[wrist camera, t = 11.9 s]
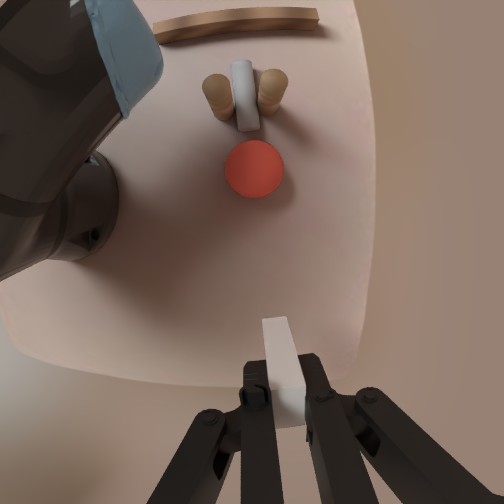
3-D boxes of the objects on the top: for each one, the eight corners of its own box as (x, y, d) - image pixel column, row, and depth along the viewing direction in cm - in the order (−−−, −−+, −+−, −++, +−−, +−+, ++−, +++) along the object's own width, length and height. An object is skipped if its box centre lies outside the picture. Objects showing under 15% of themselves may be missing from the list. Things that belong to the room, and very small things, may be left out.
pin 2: (257, 116, 29) (261, 93, 20) (255, 98, 28) (258, 69, 20) (278, 115, 28) (289, 91, 20) (276, 97, 28) (286, 68, 20)
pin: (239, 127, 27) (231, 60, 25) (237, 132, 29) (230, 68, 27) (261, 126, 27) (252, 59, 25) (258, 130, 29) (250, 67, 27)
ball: (221, 139, 28) (228, 189, 31) (220, 150, 23) (229, 210, 26) (276, 133, 28) (279, 183, 31) (287, 143, 23) (290, 203, 26)
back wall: (159, 44, 26) (152, 34, 23) (159, 34, 25) (153, 23, 22) (314, 30, 25) (319, 19, 23) (311, 19, 25) (316, 8, 22)
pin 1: (214, 121, 29) (203, 99, 20) (212, 103, 28) (201, 76, 20) (235, 119, 29) (231, 95, 20) (233, 100, 28) (228, 72, 20)
